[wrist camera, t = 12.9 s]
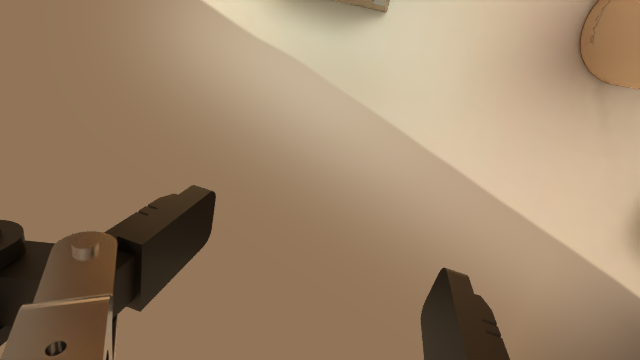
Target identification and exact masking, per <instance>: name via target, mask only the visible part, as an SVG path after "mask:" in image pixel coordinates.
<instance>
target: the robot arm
mask: <svg viewBox="0 0 640 360" xmlns="http://www.w3.org/2000/svg"><path fill="white" fill-rule="evenodd" d="M580 43H581V54H582V57H583V60H584V63H585V65H586V66H587V68H588V69H589V71H590V72H591V73H592V74H594V75H595V76H596V77H597V78H598V79H600V80H602V81H604V82H607V83H609V84H614V85H618V86H624V87H630V88H636V89H640V0H599V1H598V2H597V3H596V5H595V6H594V7H593V9H592V11H591V12H590V14H589V16H588V17H587V19H586V22H585V25H584V27H583V30H582V35H581V42H580ZM215 198H216V195H215V193H214V192H213V191H210V190H207V189H204V188H201V187H198V186H195V185H193V186H190V187H189V188H188V189H186V190H185V191H183V192H182V193H180V194H179V195H177V194H171V195H168V196H164V197H160V198H159V199H157V200H155V201H153V202H152V203H150V204H149V205H148V206H147V207H144V208H142V209H141V210H139V212H138V213H137V212H136V213H135V214H133V215H131V216H130V217H128V218H127V219H125V220H123V221H122V222H120V223H119V224H117V225H115V226H114V227H112V228H111V229H109V230H108V231H106V232H97V231H87V232H79V233H75V234H72V235H69V236H66V237H64V238H62V239H61V240H59V241H58V242H57V243H55V244H53V243H44V242H33V241H25V238H24V231H23V228H22V226H21V225H19V224H17V223H15V222H12V221H6V220H0V346H1V345H2V344H3V343H5V342H6V341H7V343H6V345H5V348H4V351H3V353H2V356H1V359H0V360H115V352H116V340H117V327H118V313H119V312H120V311H122V309H124V308H125V307H129V308H132V309H135V310H137V311H141V310H142V309H143V308H144V307H145V306H146V305H147V304H148V303H149V302H150V301H151V300H152V299H153V298H154V297H155V296H156V295H157V294H158V293H159V292H160V291H161V290H162V289H163V288H164V287H165V286H166V285H167V283H169V282H170V280H171V279H172V278H173V277H174V276H175V275H176V274H177V273H178V272H179V271H180V270H181V269H182V268H183V267H184V266H185V265H186V264H187V263H188V262H189V261H190V260H191V259H192V258H193V257H194V256H195V255H196V254H197V253H198V252H199V251H200V250H201V248H202V247H203V246H204V245H205V244H206V242H207V241H208V238H209V236H210V234H211V229H212V222H213V215H214V206H215ZM496 325H497V323H496V320H495V318H494V315H493V312H492V310H491V309H490V307H489V306H488V305H487V303H486V302H485V301H484V300H483V298H482V297H481V296H479V295H476V294H474V292H473V289H472V286H471V283H470V280H469V277H468V276H467V275H465V274H462V273H459V272H456V271H453V270H450V269H447V268H442V269H441V271H440V272H439V274H438V276H437V278H436V280H435V282H434V284H433V286H432V288H431V291H430V293H429V295H428V296H427V299H426V301H425V303H424V305H423V309H422V313H421V329H422V340H423V351H424V360H510V359H509V356H508V353H507V350H506V348H505V345H504V342H503V339H502V338H501V334H500V331H499V329H498V327H497V326H496Z"/></svg>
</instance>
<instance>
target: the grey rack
mask: <svg viewBox="0 0 640 360" xmlns="http://www.w3.org/2000/svg"><path fill="white" fill-rule="evenodd" d="M336 1H340V2H344V3H349V4H353V5H357V6H362V7H366V8H370V9H375V10H379V11H383V12H387V9H388V5H389V1H390V0H336Z"/></svg>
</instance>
